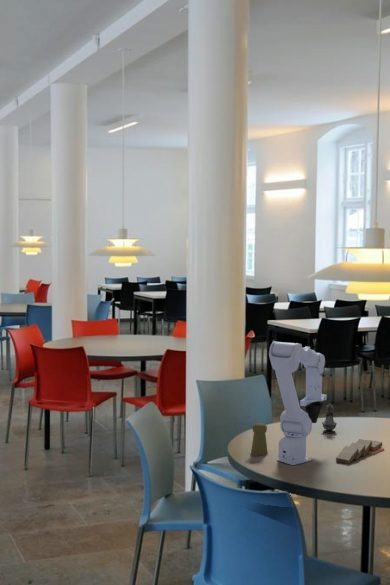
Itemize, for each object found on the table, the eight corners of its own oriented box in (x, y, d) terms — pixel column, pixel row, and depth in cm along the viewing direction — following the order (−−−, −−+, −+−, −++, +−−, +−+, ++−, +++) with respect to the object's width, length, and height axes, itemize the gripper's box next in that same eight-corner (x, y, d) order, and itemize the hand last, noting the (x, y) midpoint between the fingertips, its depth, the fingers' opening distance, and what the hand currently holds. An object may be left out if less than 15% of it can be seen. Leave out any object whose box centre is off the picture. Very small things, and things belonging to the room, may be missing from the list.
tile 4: (374, 447, 296) (382, 442, 303) (361, 445, 299) (369, 440, 306) (374, 451, 296) (382, 446, 303) (361, 449, 299) (369, 444, 306)
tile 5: (372, 452, 295) (384, 448, 301) (360, 450, 298) (372, 445, 304) (372, 456, 295) (384, 452, 301) (360, 454, 298) (372, 450, 304)
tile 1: (348, 460, 282) (358, 448, 288) (335, 457, 285) (345, 445, 291) (349, 464, 282) (358, 452, 289) (336, 461, 285) (345, 449, 292)
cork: (266, 451, 298) (267, 421, 297) (268, 456, 292) (269, 425, 291) (250, 451, 298) (250, 421, 297) (251, 456, 291) (252, 425, 291)
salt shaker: (319, 432, 326) (320, 402, 325) (324, 429, 331) (325, 400, 330) (334, 434, 323) (334, 404, 322) (338, 431, 328) (339, 401, 327)
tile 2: (356, 456, 286) (364, 444, 293) (343, 454, 289) (352, 442, 295) (356, 460, 287) (365, 448, 293) (343, 458, 289) (352, 446, 296)
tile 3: (363, 453, 291) (371, 440, 297) (350, 451, 293) (358, 438, 300) (364, 456, 291) (372, 444, 298) (351, 454, 294) (359, 442, 300)
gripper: (312, 390, 289) (311, 428, 290) (334, 383, 300) (333, 420, 301) (295, 387, 294) (294, 424, 295) (317, 381, 305) (316, 417, 306)
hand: (313, 422), depth 298 cm, fingers closed
